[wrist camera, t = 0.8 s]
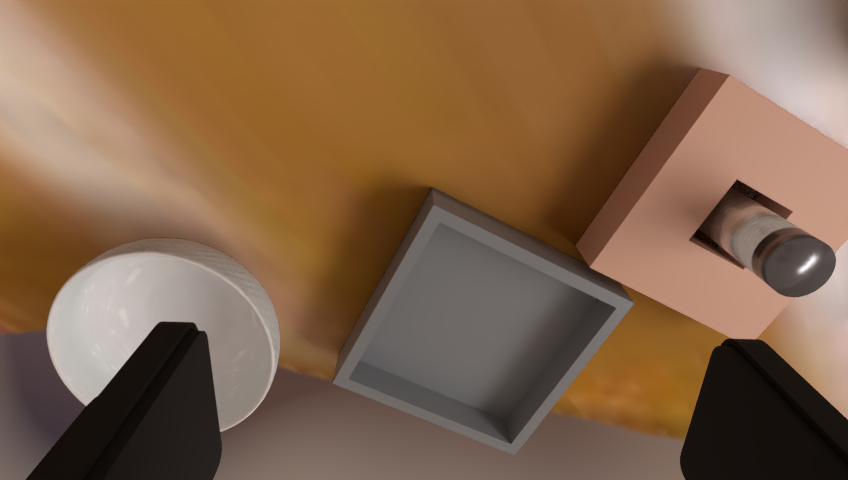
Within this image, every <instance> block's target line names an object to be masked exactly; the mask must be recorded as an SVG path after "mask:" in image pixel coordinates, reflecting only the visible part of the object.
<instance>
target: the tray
mask: <svg viewBox="0 0 848 480" xmlns="http://www.w3.org/2000/svg"><path fill="white" fill-rule="evenodd" d="M633 304H634V302H633V301H632V299H631V298H630V297H629V295H628V294H627V292H626V291H625V290H624V288H623V287H622V286H621V284H620V283H619V282H618V281H616V280H614V279H612V278H610V277H608V276H606V275H604V274H602V273H600V272H598V271H596V270H594V269H592V268H590V267H589V266H588V265H587V264H585V263H583V262H581V261H579V260H577V259H575V258H573V257H571V256H569V255H567V254H565V253H563V252H561V251H559V250H557V249H555V248H553V247H551V246H549V245H547V244H545V243H543V242H541V241H539V240H537V239H535V238H533V237H531V236H529V235H527V234H525V233H523V232H521V231H519V230H517V229H515V228H513V227H511V226H509V225H507V224H505V223H503V222H501V221H499V220H497V219H495V218H493V217H491V216H489V215H487V214H485V213H483V212H481V211H479V210H477V209H475V208H473V207H471V206H469V205H467V204H465V203H463V202H461V201H459V200H457V199H455V198H453V197H451V196H449V195H447V194H445V193H443V192H441V191H439V190H437V189H435V188H433V187H432V188H431V190H430V192H429V193H428V195H427V197H426V199H425V201H424V202H423V204H422V206H421V208H420V210H419V211H418V213H417V215H416V217H415V218H414V220H413V222H412V224H411V226H410V227H409V229H408V231H407V233H406V235H405V236H404V238H403V240H402V242H401V244H400V245H399V247H398V249H397V251H396V253H395V254H394V256H393V258H392V260H391V261H390V263H389V265H388V267H387V269H386V270H385V272H384V274H383V276H382V278H381V279H380V281H379V283H378V285H377V287H376V288H375V290H374V292H373V294H372V296H371V297H370V299H369V301H368V303H367V304H366V306H365V308H364V310H363V312H362V313H361V315H360V317H359V319H358V321H357V322H356V324H355V326H354V328H353V330H352V331H351V333H350V335H349V337H348V339H347V340H346V342H345V344H344V346H343V347H342V349H341V351H340V353H339V355H338V359H337V364H336V369H335V374H334V379H333V384H335V385H338V386H340V387H343V388H345V389H348V390H350V391H353V392H356V393H358V394H360V395H363V396H366V397H368V398H371V399H373V400H376V401H378V402H381V403H383V404H386V405H388V406H391V407H393V408H396V409H399V410H401V411H403V412H406V413H409V414H411V415H414V416H416V417H419V418H421V419H424V420H426V421H429V422H431V423H434V424H436V425H439V426H441V427H444V428H446V429H449V430H452V431H454V432H457V433H459V434H462V435H464V436H467V437H469V438H472V439H475V440H477V441H479V442H482V443H485V444H487V445H490V446H492V447H494V448H497V449H500V450H502V451H505V452H507V453H510V454H513V455H515V454H516V453H517V452H518V450H519V449H520V448H521V446H522V445H523V444H524V443H525V441H526V440H527V439H528V438H529V436H530V435H531V434H532V433H533V431H534V430H535V429H536V428H537V426H538V425H539V424H540V422H541V421H542V420H543V419H544V417H545V416H546V415H547V414H548V412H549V411H550V410H551V409H552V407H553V406H554V405H555V403H556V402H557V401H558V400H559V398H560V397H561V396H562V395H563V393H564V392H565V391H566V389H567V388H568V387H569V386H570V384H571V383H572V382H573V381H574V379H575V378H576V377H577V376H578V374H579V373H580V372H581V370H582V369H583V368H584V367H585V365H586V364H587V363H588V362H589V360H590V359H591V358H592V357H593V355H594V354H595V353H596V351H597V350H598V349H599V348H600V346H601V345H602V344H603V343H604V341H605V340H606V339H607V337H608V336H609V335H610V334H611V332H612V331H613V330H614V329H615V327H616V326H617V325H618V324H619V322H620V321H621V320H622V318H623V317H624V316H625V315H626V313H627V312H628V311H629V310H630V308H631V307H632V306H633Z"/></svg>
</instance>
